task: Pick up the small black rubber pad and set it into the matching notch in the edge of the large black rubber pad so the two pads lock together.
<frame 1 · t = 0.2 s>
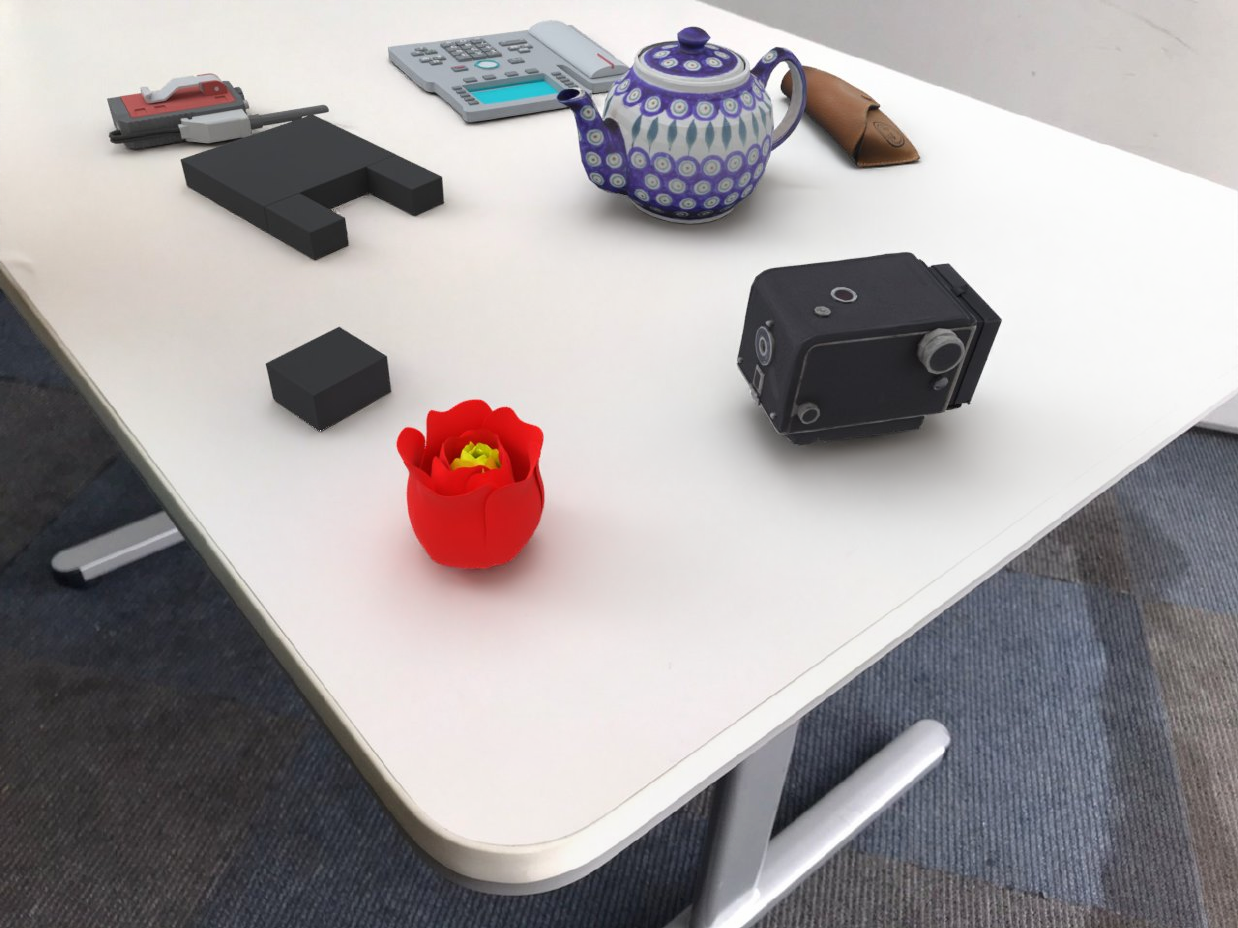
small pad: (332, 395, 69), on the table
teapot: (679, 199, 93), on the table
camera: (842, 423, 70), on the table
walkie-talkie: (219, 129, 99), on the table
big pad: (315, 194, 90), on the table
office telephone: (519, 77, 113), on the table
flower: (476, 544, 60), on the table
sunglasses case: (846, 130, 107), on the table
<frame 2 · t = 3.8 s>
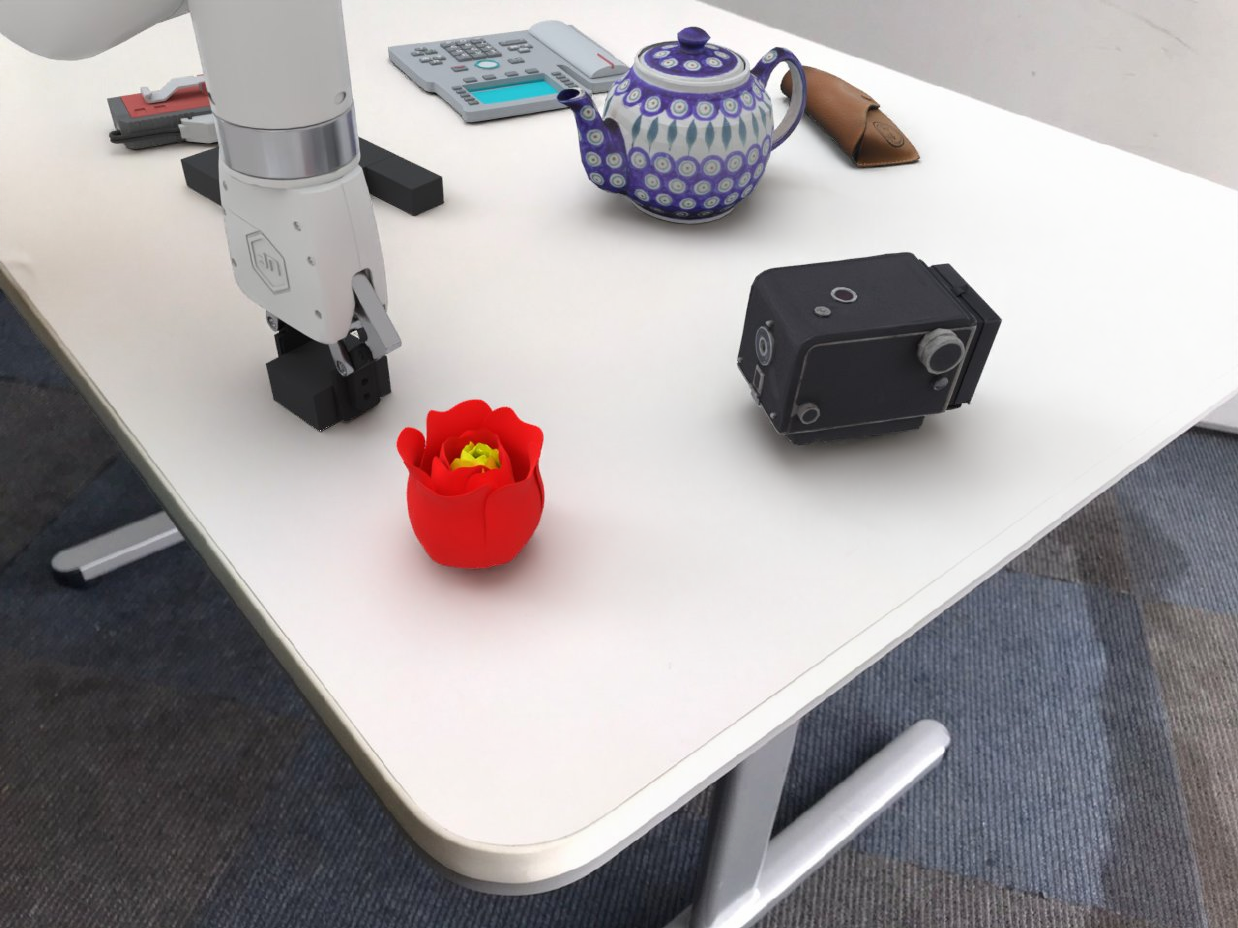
hand: (332, 390, 69), 0 cm above the table, tool pointing down, fingers closed on small pad, 5 cm apart
small pad: (332, 395, 69), on the table, touching gripper
everything else where it was.
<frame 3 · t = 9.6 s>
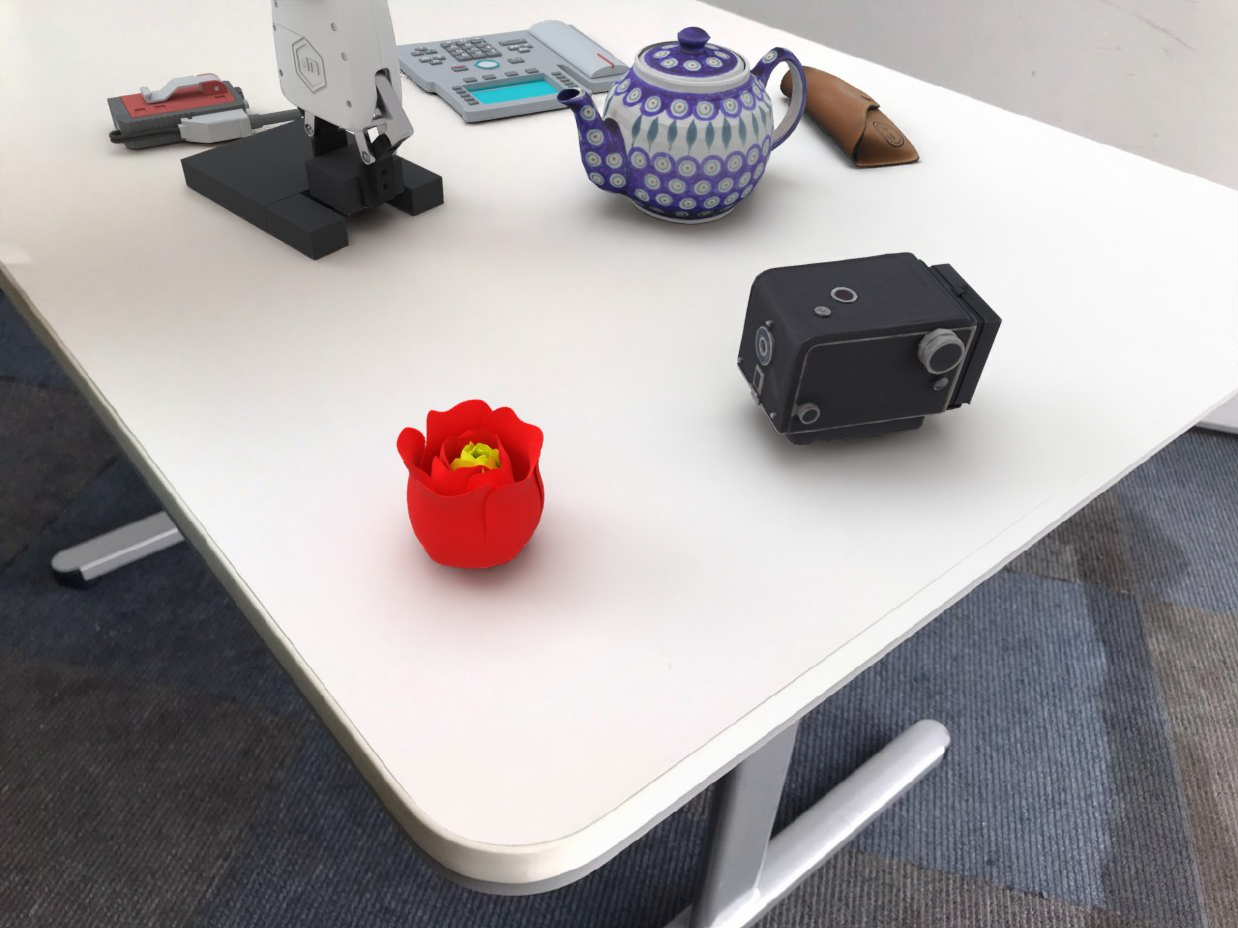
hand: (356, 188, 85), 3 cm above the table, tool pointing down, fingers closed on small pad, 5 cm apart
small pad: (357, 193, 86), point 2 cm above the table, touching gripper
everything else where it was.
when the fingers open (4 cm above the table, at t = 17.8 s): small pad drops 3 cm, on the table.
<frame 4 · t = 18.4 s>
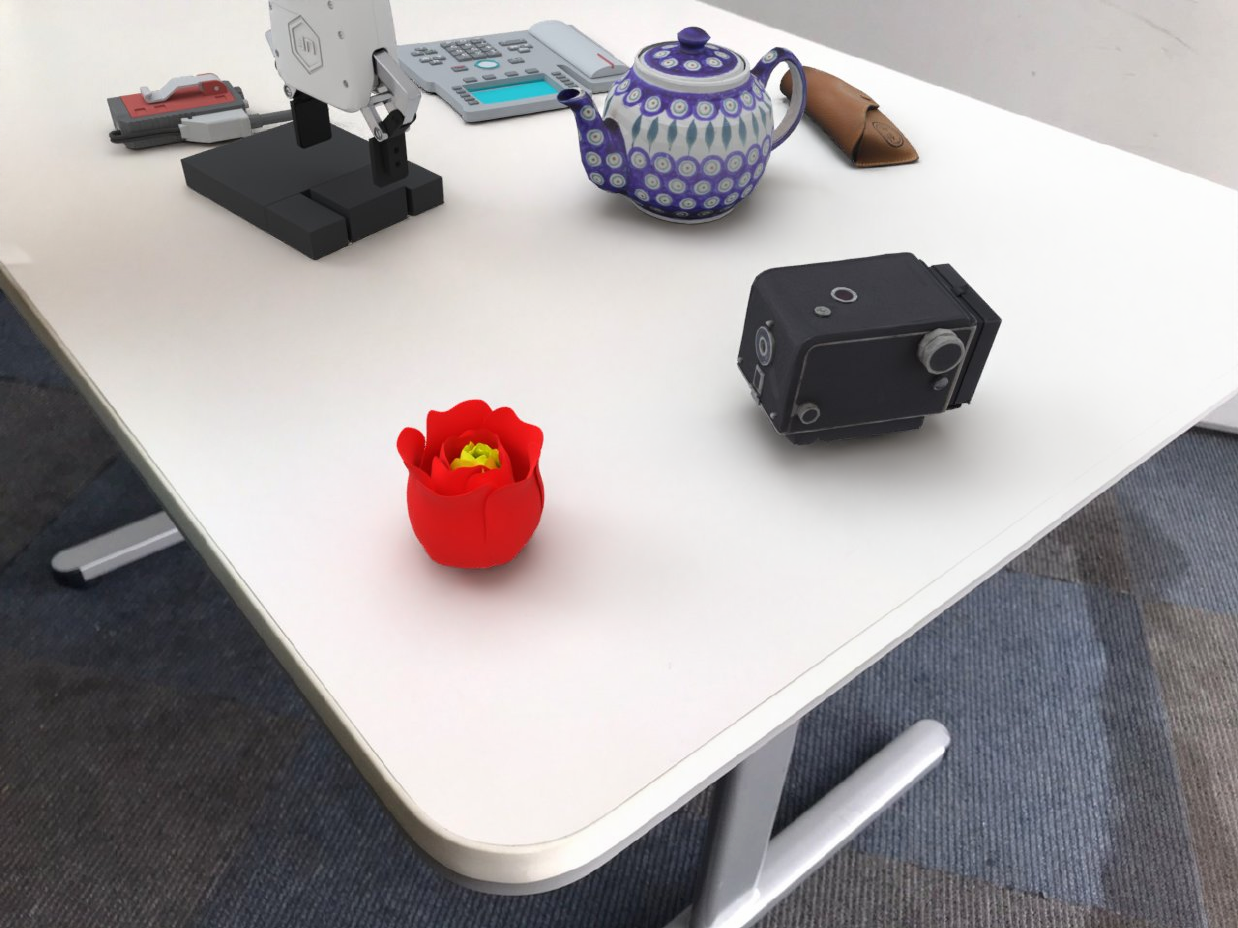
hand: (352, 162, 84), 5 cm above the table, tool pointing down, fingers open, 9 cm apart
small pad: (362, 219, 87), on the table
everything else where it was.
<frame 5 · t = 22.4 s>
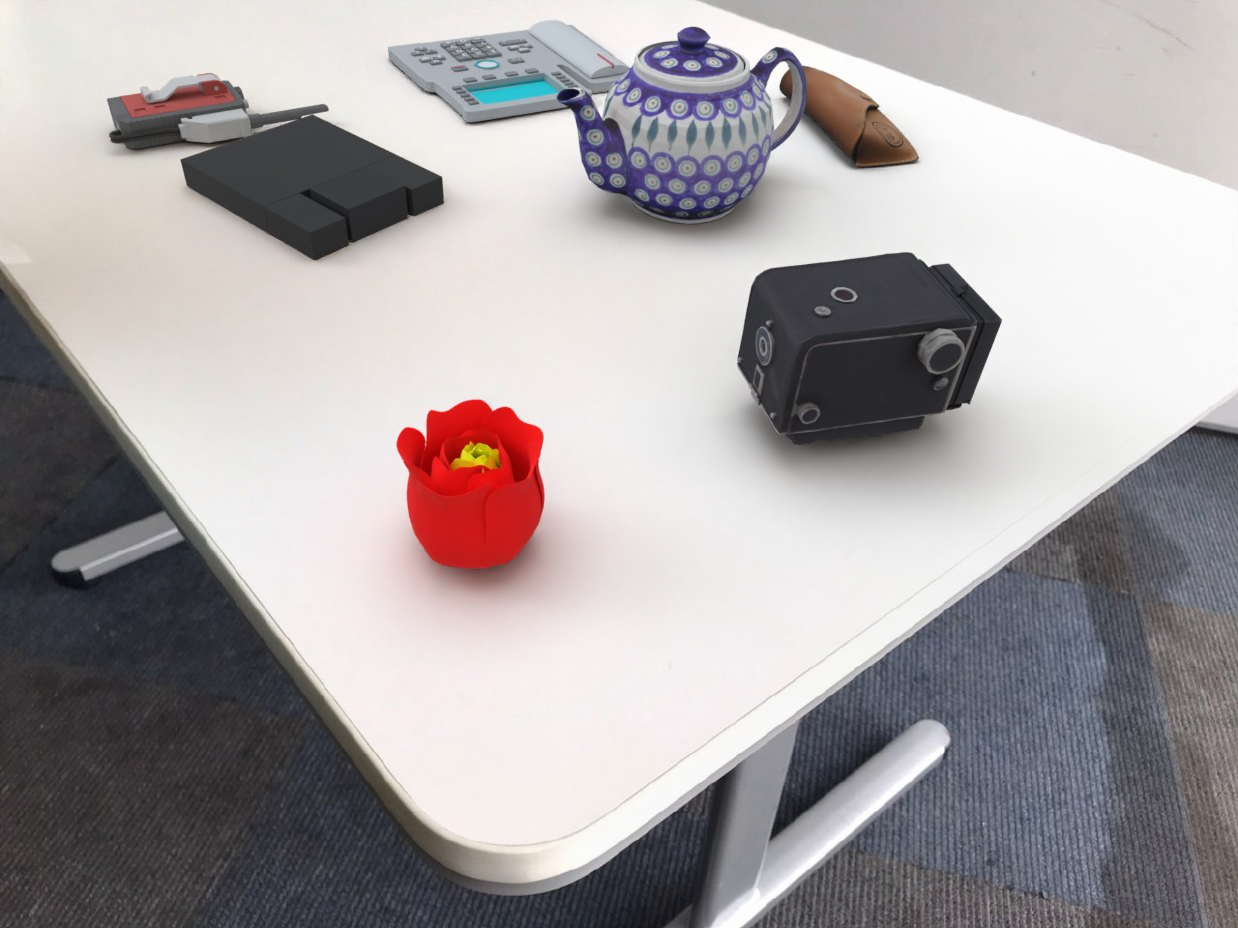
nothing on the table moved.
at the end: small pad 0.4 cm from the target spot on the big pad, point 0.0 cm above the big pad's base; small pad tilted 0°; the gripper is holding nothing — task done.
